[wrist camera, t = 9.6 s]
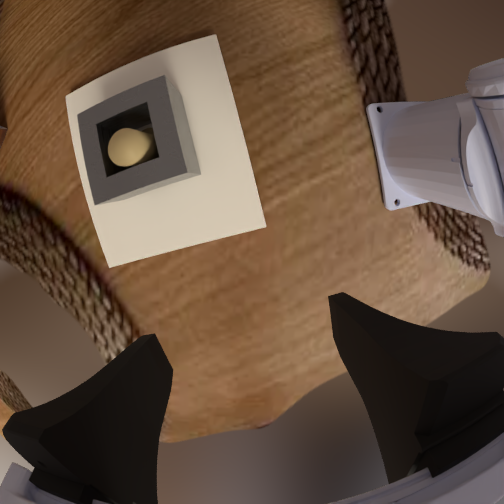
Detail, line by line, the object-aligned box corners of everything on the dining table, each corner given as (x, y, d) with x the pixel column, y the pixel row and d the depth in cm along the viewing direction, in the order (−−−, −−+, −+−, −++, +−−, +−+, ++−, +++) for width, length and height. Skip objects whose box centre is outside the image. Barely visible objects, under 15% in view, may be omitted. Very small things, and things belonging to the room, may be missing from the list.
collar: (181, 95, 16) (164, 74, 12) (201, 174, 17) (187, 172, 13) (107, 124, 16) (76, 114, 12) (124, 199, 17) (94, 205, 13)
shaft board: (217, 39, 15) (208, 2, 10) (265, 223, 19) (273, 246, 14) (72, 98, 16) (29, 87, 11) (114, 263, 20) (80, 293, 15)
